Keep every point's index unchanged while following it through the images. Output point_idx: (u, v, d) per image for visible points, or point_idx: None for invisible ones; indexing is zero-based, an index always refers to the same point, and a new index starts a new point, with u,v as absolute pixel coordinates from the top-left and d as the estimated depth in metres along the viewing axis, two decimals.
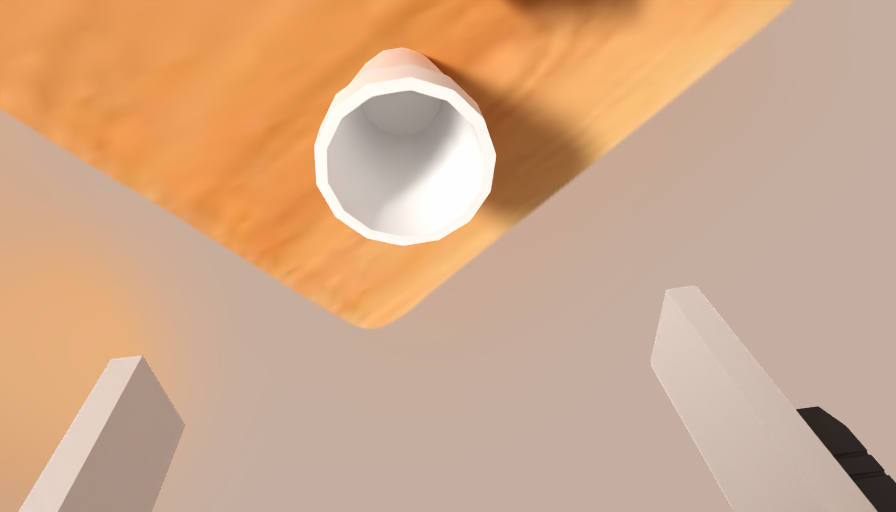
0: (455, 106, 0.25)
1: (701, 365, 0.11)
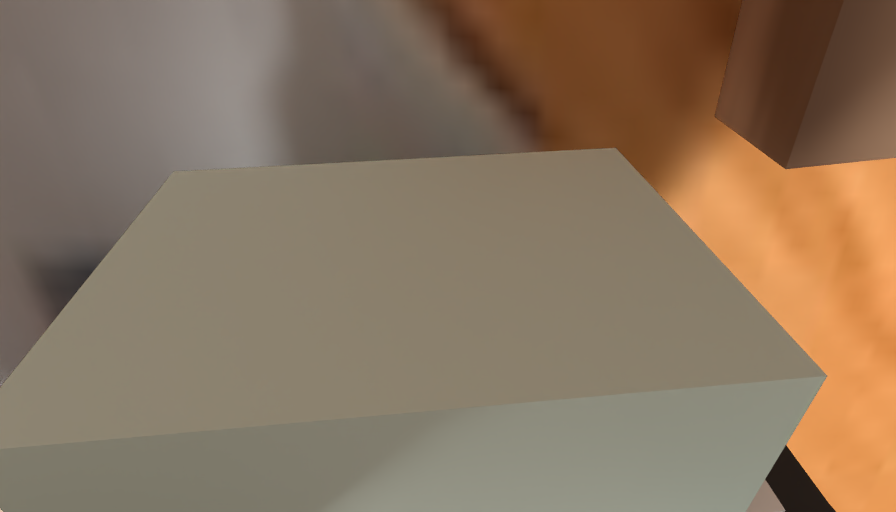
0: None
1: None
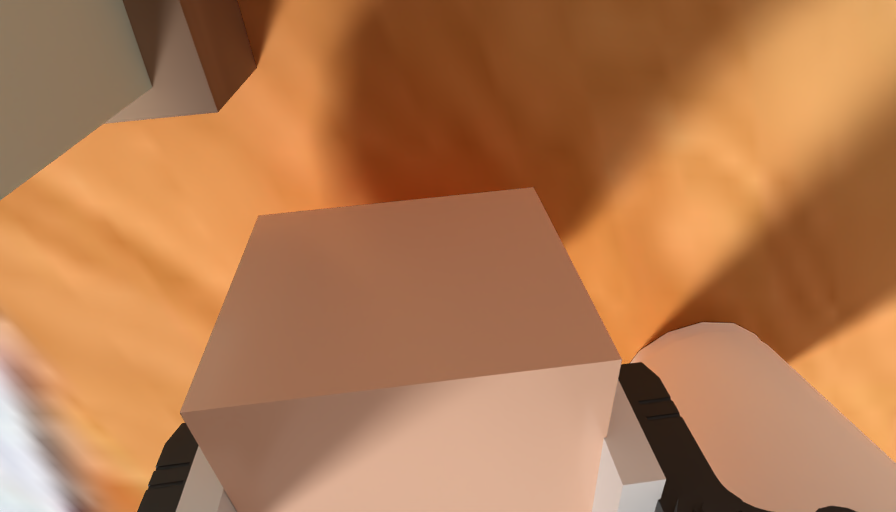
0: None
1: None
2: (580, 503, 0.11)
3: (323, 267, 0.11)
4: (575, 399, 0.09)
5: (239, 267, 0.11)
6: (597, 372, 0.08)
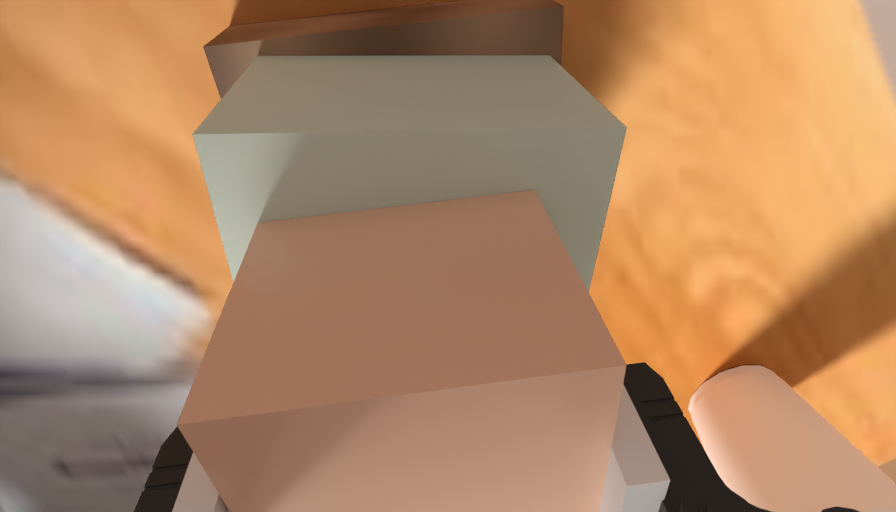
0: None
1: None
2: (587, 511, 0.10)
3: (322, 274, 0.11)
4: (579, 406, 0.08)
5: (238, 275, 0.11)
6: (601, 378, 0.08)
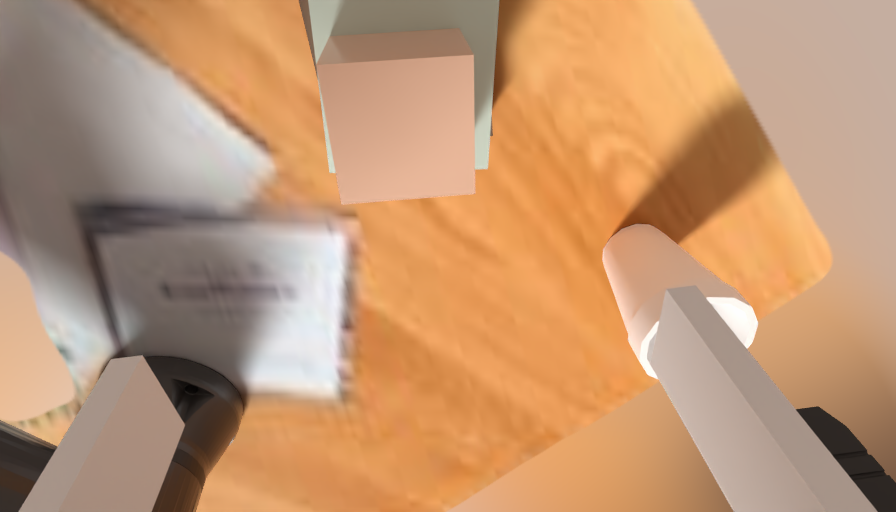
0: None
1: (701, 365, 0.11)
2: (469, 146, 0.25)
3: (362, 44, 0.25)
4: (458, 75, 0.23)
5: (325, 45, 0.25)
6: (465, 61, 0.23)
